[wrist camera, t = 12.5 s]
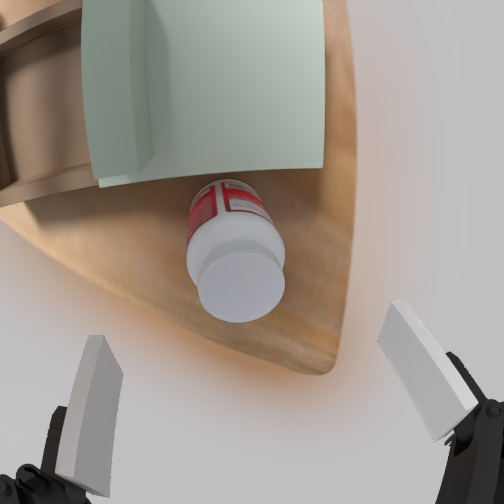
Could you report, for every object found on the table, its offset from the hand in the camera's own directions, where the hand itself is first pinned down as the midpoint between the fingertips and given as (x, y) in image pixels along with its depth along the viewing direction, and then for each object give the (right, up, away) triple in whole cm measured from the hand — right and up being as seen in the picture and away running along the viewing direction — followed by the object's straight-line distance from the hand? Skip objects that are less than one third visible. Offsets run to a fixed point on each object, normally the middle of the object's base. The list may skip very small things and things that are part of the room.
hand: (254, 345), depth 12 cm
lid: (-3, +15, +2) cm, 16 cm away
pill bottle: (-2, +8, +13) cm, 15 cm away
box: (-15, +17, +5) cm, 23 cm away
